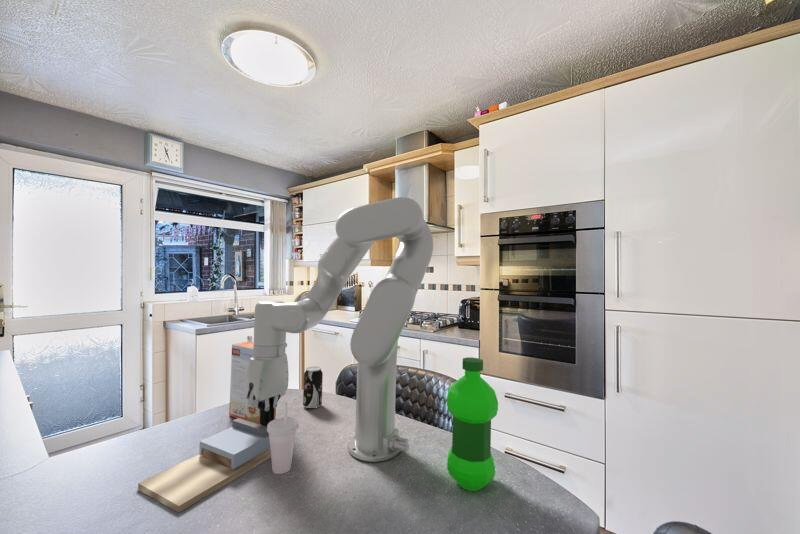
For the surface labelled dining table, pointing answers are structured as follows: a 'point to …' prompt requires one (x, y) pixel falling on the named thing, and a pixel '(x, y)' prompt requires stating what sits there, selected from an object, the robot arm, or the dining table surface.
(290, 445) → the smoothie
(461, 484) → the plastic bottle
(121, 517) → the dining table surface
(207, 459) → the board
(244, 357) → the cracker box
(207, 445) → the lid
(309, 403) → the beverage can
